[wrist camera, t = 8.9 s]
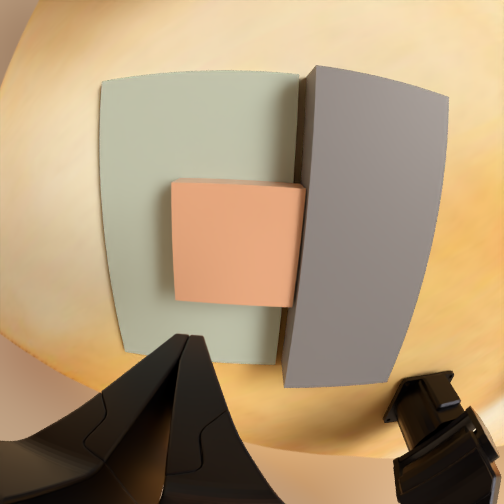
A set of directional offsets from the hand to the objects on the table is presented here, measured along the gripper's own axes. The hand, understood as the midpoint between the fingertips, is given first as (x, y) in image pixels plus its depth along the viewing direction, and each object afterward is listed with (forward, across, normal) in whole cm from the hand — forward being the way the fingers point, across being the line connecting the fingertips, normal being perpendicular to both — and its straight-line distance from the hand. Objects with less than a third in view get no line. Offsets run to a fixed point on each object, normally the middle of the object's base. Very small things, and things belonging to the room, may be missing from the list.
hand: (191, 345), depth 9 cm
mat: (+11, +2, 0) cm, 11 cm away
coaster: (+10, -1, 0) cm, 10 cm away
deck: (+11, -8, 0) cm, 14 cm away
